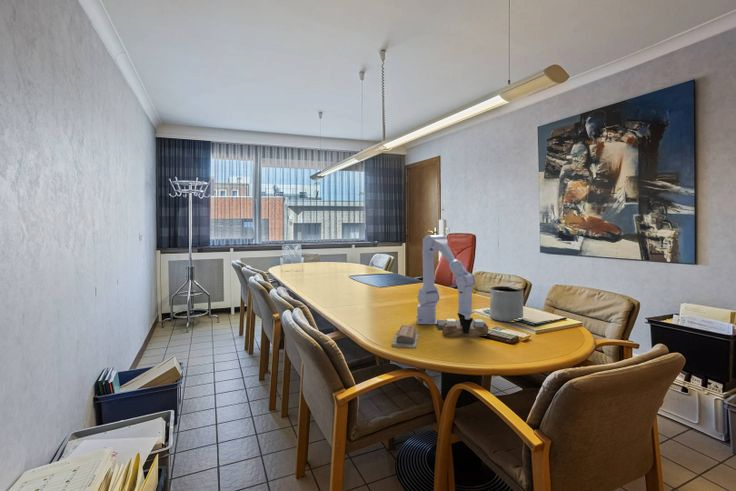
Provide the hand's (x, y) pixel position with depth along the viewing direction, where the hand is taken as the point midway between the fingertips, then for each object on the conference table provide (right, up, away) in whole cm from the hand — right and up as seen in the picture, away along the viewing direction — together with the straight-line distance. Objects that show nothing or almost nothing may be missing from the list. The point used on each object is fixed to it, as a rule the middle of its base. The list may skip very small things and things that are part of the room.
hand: (464, 331), depth 164 cm
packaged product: (-27, -3, -7) cm, 28 cm away
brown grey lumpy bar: (0, -2, 0) cm, 2 cm away
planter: (+28, 0, +25) cm, 38 cm away
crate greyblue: (+6, +2, -1) cm, 6 cm away
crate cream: (-6, +2, 0) cm, 6 cm away
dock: (+1, -1, +11) cm, 12 cm away
